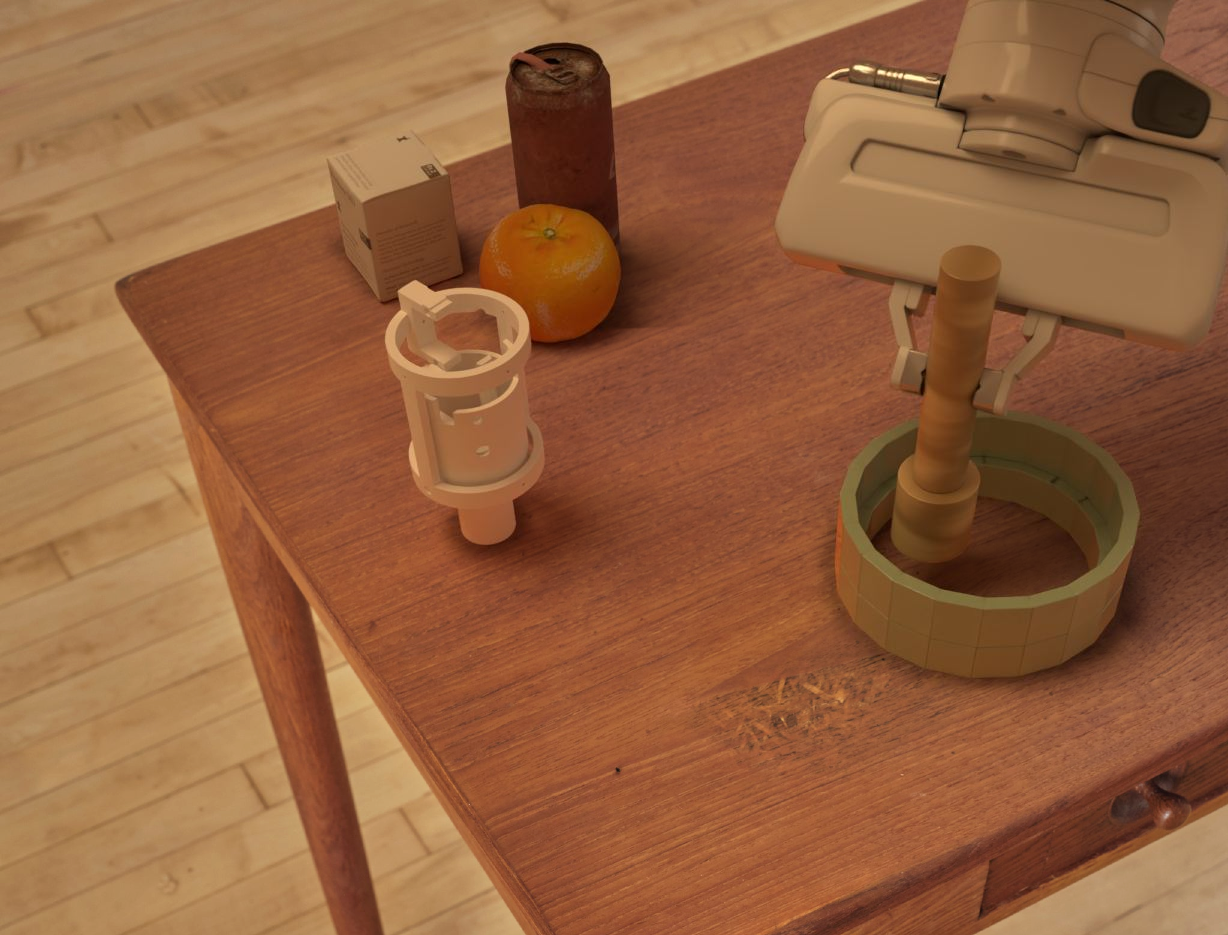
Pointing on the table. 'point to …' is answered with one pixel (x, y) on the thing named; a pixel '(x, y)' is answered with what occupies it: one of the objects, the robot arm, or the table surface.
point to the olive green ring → (995, 626)
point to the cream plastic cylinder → (467, 409)
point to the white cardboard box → (396, 213)
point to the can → (564, 131)
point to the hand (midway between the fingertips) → (947, 402)
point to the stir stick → (948, 413)
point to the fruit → (553, 269)
